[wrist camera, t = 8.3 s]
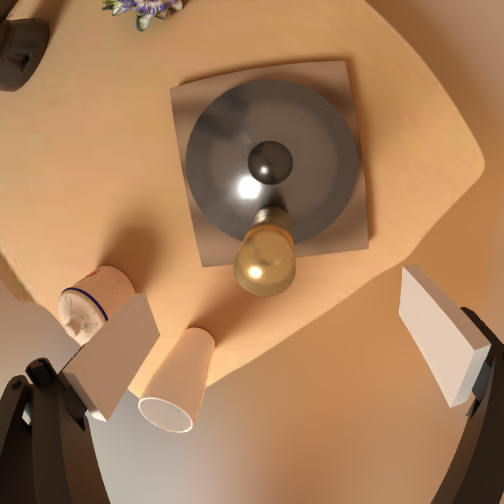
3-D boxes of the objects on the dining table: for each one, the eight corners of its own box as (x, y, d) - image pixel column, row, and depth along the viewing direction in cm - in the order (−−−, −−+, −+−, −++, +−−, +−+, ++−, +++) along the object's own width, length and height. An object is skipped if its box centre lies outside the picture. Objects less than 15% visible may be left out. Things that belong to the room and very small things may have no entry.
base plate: (174, 91, 28) (169, 88, 27) (342, 64, 25) (344, 60, 24) (205, 262, 35) (202, 267, 34) (365, 244, 32) (368, 248, 30)
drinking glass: (230, 344, 39) (206, 425, 25) (200, 363, 41) (171, 437, 27) (197, 313, 38) (157, 389, 24) (168, 335, 40) (127, 405, 26)
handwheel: (195, 243, 32) (145, 297, 20) (187, 90, 26) (126, 55, 14) (351, 243, 30) (390, 301, 18) (351, 85, 24) (395, 41, 12)
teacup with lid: (100, 251, 36) (49, 284, 25) (147, 288, 37) (105, 333, 26) (82, 304, 40) (41, 340, 29) (122, 336, 41) (87, 380, 30)
